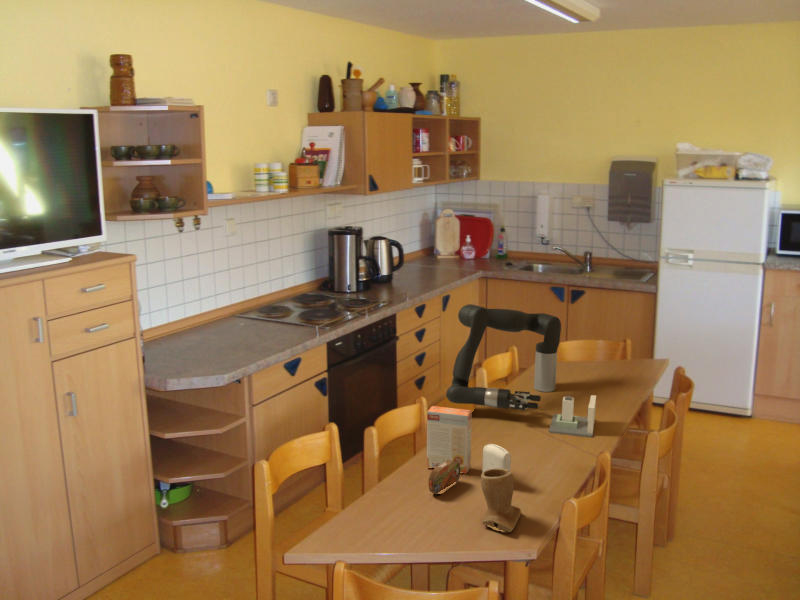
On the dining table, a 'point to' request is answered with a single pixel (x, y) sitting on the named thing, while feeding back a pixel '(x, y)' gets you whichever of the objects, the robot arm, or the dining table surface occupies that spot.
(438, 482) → the tin
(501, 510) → the stone cup
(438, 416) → the cracker box
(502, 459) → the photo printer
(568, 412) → the block
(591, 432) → the wall outlet
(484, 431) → the dining table surface
